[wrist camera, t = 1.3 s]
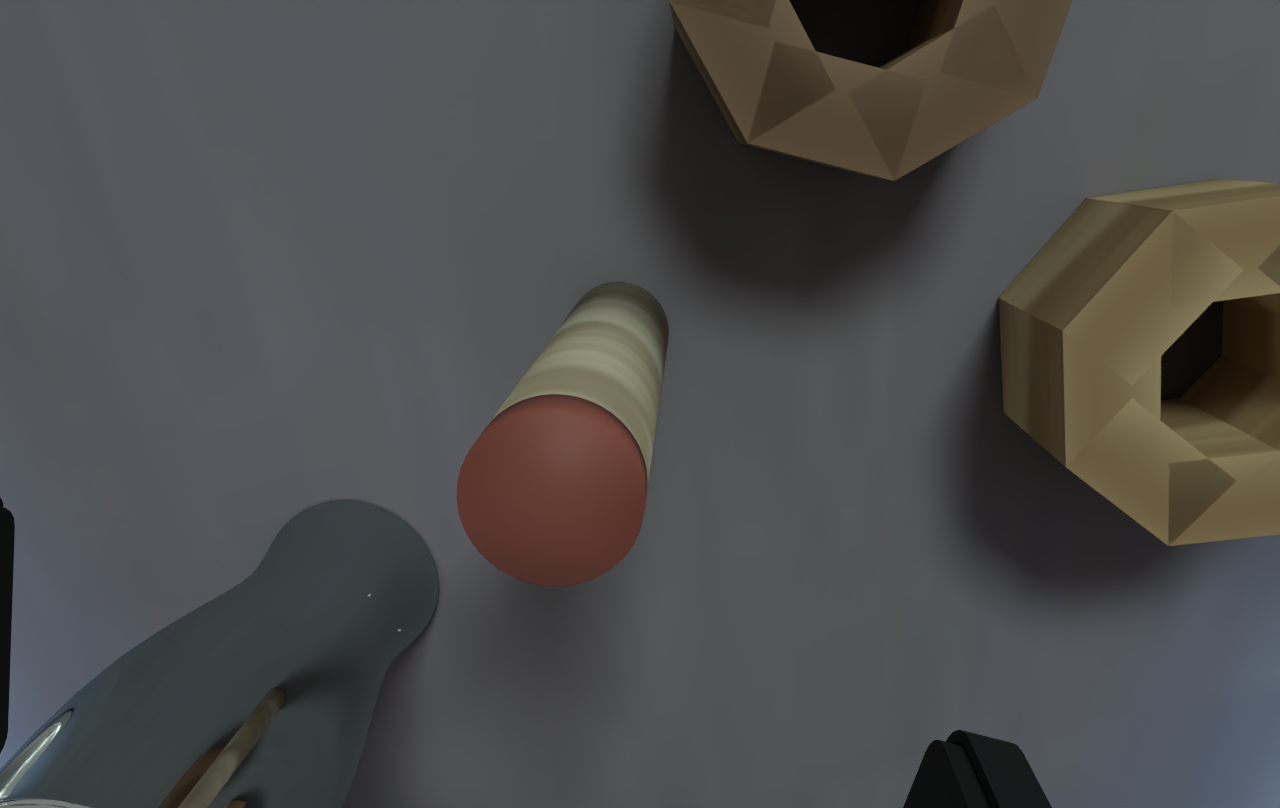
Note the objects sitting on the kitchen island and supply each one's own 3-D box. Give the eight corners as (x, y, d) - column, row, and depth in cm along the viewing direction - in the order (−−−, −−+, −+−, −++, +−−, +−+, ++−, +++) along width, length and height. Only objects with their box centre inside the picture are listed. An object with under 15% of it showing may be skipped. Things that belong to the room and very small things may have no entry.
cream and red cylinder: (655, 390, 29) (619, 605, 16) (559, 366, 29) (441, 561, 15) (679, 296, 28) (664, 437, 15) (581, 271, 28) (475, 389, 15)
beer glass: (365, 697, 33) (109, 1128, 19) (220, 571, 32) (-171, 926, 17) (492, 583, 31) (320, 959, 17) (344, 446, 30) (25, 724, 16)
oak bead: (1298, 455, 28) (1420, 519, 23) (1006, 488, 29) (1067, 557, 24) (1313, 164, 26) (1454, 170, 21) (995, 211, 27) (1060, 226, 22)
